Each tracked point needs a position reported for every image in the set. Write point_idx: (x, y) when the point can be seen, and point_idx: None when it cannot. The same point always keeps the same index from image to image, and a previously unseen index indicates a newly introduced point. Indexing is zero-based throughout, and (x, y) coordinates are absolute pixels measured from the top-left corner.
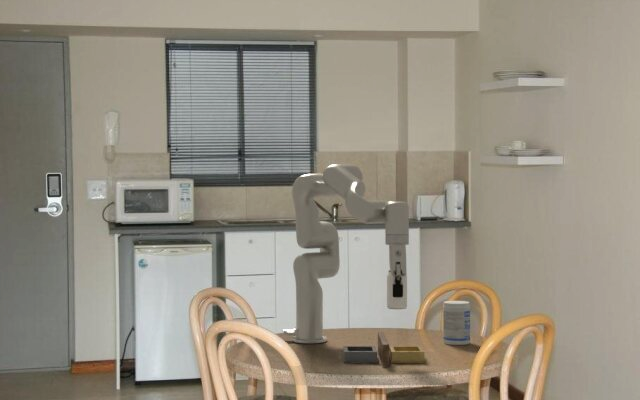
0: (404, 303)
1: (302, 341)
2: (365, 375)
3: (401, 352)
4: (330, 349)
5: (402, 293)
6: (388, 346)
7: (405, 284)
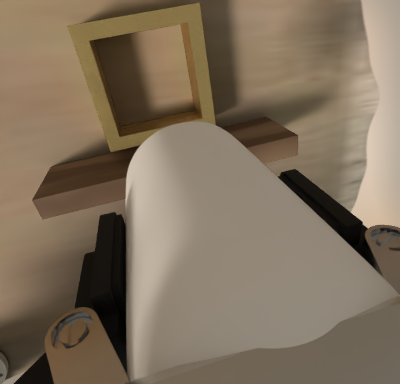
0: (237, 141)
1: (6, 369)
2: (354, 155)
3: (210, 95)
4: (57, 297)
5: (307, 181)
6: (294, 135)
7: (302, 206)
